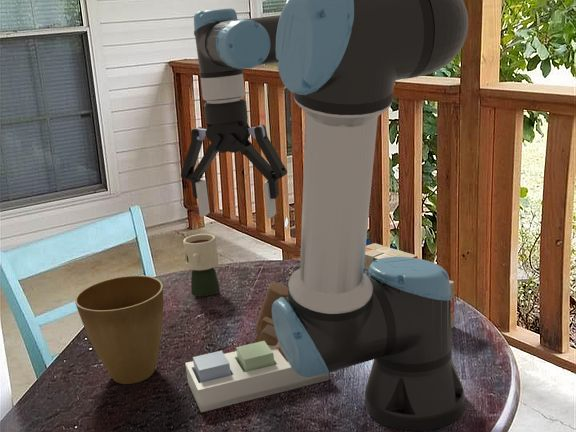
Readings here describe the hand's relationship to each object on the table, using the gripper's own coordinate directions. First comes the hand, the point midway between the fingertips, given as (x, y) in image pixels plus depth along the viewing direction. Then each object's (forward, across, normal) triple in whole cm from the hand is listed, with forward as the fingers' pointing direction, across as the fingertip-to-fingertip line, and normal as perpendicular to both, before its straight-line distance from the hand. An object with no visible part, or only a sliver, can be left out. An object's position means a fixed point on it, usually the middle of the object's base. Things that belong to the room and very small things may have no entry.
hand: (237, 215), depth 136 cm
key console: (+24, -8, +16) cm, 30 cm away
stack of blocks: (+25, -26, -14) cm, 39 cm away
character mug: (+24, +19, -17) cm, 35 cm away
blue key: (+22, -3, +21) cm, 31 cm away
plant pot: (+24, +15, +19) cm, 34 cm away
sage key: (+22, -8, +16) cm, 29 cm away
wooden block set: (+25, -6, +2) cm, 25 cm away
